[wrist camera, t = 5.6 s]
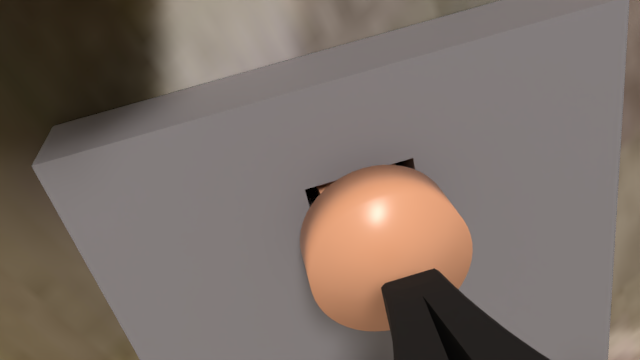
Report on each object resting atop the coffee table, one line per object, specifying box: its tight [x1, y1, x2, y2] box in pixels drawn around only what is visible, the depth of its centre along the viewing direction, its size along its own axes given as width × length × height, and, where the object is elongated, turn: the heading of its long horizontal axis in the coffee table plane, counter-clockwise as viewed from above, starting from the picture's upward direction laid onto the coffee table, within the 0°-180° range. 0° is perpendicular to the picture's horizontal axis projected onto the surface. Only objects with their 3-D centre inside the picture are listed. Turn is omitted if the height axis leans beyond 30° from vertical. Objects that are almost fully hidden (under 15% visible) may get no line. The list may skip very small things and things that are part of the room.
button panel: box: [32, 0, 629, 360], centre depth 20 cm, size 16×18×2 cm
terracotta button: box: [300, 163, 473, 331], centre depth 17 cm, size 4×4×4 cm
